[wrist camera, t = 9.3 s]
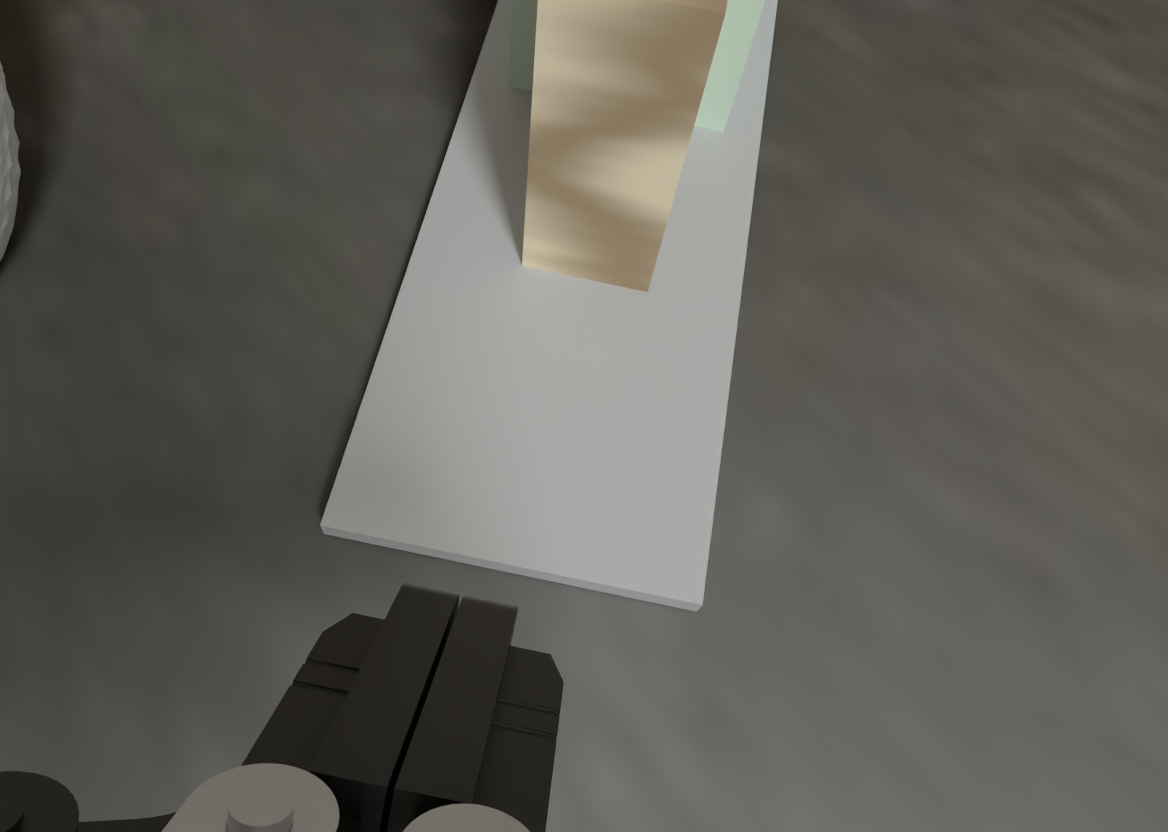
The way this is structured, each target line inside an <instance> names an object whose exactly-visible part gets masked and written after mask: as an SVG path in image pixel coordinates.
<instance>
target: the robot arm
mask: <svg viewBox="0 0 1168 832" xmlns="http://www.w3.org/2000/svg"><path fill="white" fill-rule="evenodd" d="M458 605H459V595H457V594H453V593H448V592H443V591H438V590H434V589H429V588H424V587H419V586H415V585H410V584H405V583H404V584H403V585H402V586H401V588H400V590H399V592H398V594H397V596H396V598H395V600H394V602H393V604H392V606H391V608H390V610H389V612H388V614H387V616H386V618H385V620H383V619H379V618H374V617H369V616H364V615H359V614H355V613H352V614H350V615H349V616H347V617H346V618H344V619H342V620H341V621H339V622H338V623H336V624H335V625H333V626H331V627H330V628H328V629H327V630H325V631H323V632H322V634H321V636H320V637H319V639H318V641H317V642H316V644H315V645H314V647H313V649H312V650H311V652H310V654H309V655H308V657H307V660H306V663H305V664H303V665H302V667H301V668H300V670H299V672H298V673H297V675H296V677H295V678H294V680H293V684H292V686H290V687H289V688H288V690H287V692H286V693H285V695H284V696H283V698H282V700H281V701H280V703H279V705H278V706H277V708H276V710H275V711H274V713H273V715H272V716H271V718H270V719H269V721H268V723H267V724H266V726H265V728H264V729H263V731H262V733H261V734H260V736H259V738H258V739H257V741H256V742H255V744H254V746H253V747H252V749H251V751H250V752H249V754H248V756H247V757H246V759H245V761H244V762H243V764H242V766H240V767H237V768H233V769H229V770H227V771H225V772H222V773H220V774H217V775H216V776H214V777H212V778H210V779H209V780H207V781H205V782H204V783H203V784H202V785H200V786H199V787H198V788H197V789H196V790H195V791H194V792H193V793H192V794H191V795H190V796H189V797H188V798H187V800H186V801H185V802H184V803H183V805H182V806H181V807H180V809H179V810H178V811H177V812H175V813H172V814H168V815H163V816H158V817H152V818H142V819H128V820H110V821H92V822H79V810H78V805H77V802H76V800H75V798H74V796H73V794H72V793H71V792H70V791H69V790H68V789H67V788H66V787H65V786H64V785H62V784H61V783H59V782H58V781H56V780H53V779H51V778H49V777H47V776H43V775H39V774H35V773H29V772H20V771H3V772H0V832H545V829H546V821H547V813H548V805H549V797H550V788H551V780H552V772H553V764H554V756H555V748H556V737H557V731H558V723H559V713H560V707H561V699H562V691H563V683H564V682H563V680H562V678H561V676H560V673H559V671H558V669H557V667H556V665H555V663H554V661H553V659H552V657H551V655H550V654H547V653H542V652H537V651H533V650H528V649H523V648H518V647H513V646H510V645H511V640H512V635H513V631H514V626H515V621H516V616H517V611H518V607H516V606H511V605H506V604H501V603H497V602H492V601H487V600H482V599H477V598H473V597H468V596H463V598H462V600H461V603H460V606H459V609H458Z"/></svg>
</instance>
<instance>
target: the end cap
mask: <svg viewBox="0 0 1168 832" xmlns="http://www.w3.org/2000/svg"><path fill="white" fill-rule="evenodd" d="M765 1H766V0H728V2H727V8H726V13H725V17H724V21H723V24H722V28H721V31H720V35H719V39H718V42H717V46H716V49H715V53H714V56H713V60H712V64H711V67H710V71H709V74H708V78H707V82H706V85H705V89H704V92H703V96H702V99H701V103H700V107H699V110H698V114H697V117H696V121H695V124H694V126H698V127H703V128H707V129H712V130H717V131H722V132H724V129H725V125H726V122H727V119H728V116H729V113H730V110H731V107H732V104H733V101H734V97H735V94H736V91H737V88H738V85H739V82H740V79H741V76H742V73H743V69H744V66H745V63H746V60H747V57H748V54H749V51H750V48H751V45H752V41H753V38H754V35H755V32H756V29H757V26H758V23H759V20H760V16H761V13H762V10H763V7H764V4H765ZM537 5H538V0H511V16H510V51H509V86H508V87H512V88H517V89H522V90H526V91H531V92H532V90H533V73H534V56H535V39H536V22H537Z"/></svg>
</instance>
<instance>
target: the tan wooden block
mask: <svg viewBox="0 0 1168 832" xmlns="http://www.w3.org/2000/svg"><path fill="white" fill-rule="evenodd" d="M727 2H728V0H538V5H537V22H536V39H535V56H534V73H533V90H532V106H531V123H530V140H529V157H528V174H527V191H526V207H525V224H524V241H523V258H522V266H527V267H531V268H536V269H541V270H545V271H550V272H555V273H560V274H564V275H569V276H574V277H578V278H583V279H588V280H592V281H597V282H602V283H607V284H611V285H616V286H621V287H625V288H630V289H635V290H639V291H644V292H648V289H649V286H650V282H651V278H652V275H653V271H654V268H655V264H656V261H657V257H658V253H659V250H660V246H661V243H662V239H663V235H664V232H665V228H666V225H667V221H668V218H669V214H670V210H671V207H672V203H673V200H674V196H675V193H676V189H677V185H678V182H679V178H680V175H681V171H682V167H683V164H684V160H685V157H686V153H687V150H688V146H689V142H690V139H691V135H692V132H693V128H694V124H695V121H696V117H697V114H698V110H699V107H700V103H701V99H702V96H703V92H704V89H705V85H706V82H707V78H708V74H709V71H710V67H711V64H712V60H713V56H714V53H715V49H716V46H717V42H718V39H719V35H720V31H721V28H722V24H723V21H724V17H725V13H726V8H727Z"/></svg>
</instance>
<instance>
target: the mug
mask: <svg viewBox="0 0 1168 832" xmlns="http://www.w3.org/2000/svg"><path fill="white" fill-rule="evenodd" d="M19 143H20V142H19V140H18V137H17V134H16V132H15V128H14V109H13V107H12V105H11V100H10V98H9V95H8V93H7V90H6V82H5V75H4V73H3V67H2V65H1V62H0V261H1V259H2V257H3V255H4V253H5V250H6V247H7V245H8V242H9V239H10V236H11V233H12V230H13V227H14V221H15V214H16V208H17V199H18V185H19V179H20V174H21V171H20V166H19V162H18V149H19Z"/></svg>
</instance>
